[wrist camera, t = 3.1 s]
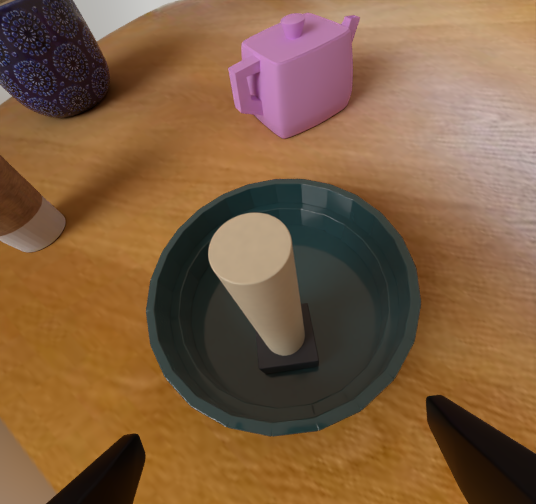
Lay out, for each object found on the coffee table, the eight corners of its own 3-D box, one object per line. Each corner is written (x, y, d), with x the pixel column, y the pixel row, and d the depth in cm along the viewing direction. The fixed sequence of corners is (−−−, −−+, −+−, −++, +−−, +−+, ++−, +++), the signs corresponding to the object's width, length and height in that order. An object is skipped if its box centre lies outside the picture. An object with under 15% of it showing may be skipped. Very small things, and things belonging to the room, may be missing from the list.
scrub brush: (319, 366, 19) (323, 291, 7) (264, 374, 20) (186, 313, 8) (308, 313, 21) (299, 189, 10) (259, 321, 22) (192, 210, 10)
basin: (438, 411, 17) (483, 410, 13) (172, 444, 19) (124, 454, 14) (358, 204, 27) (367, 160, 22) (186, 235, 28) (161, 200, 24)
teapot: (328, 69, 41) (331, -22, 33) (377, 95, 36) (397, -5, 27) (228, 119, 38) (202, 34, 30) (265, 156, 33) (247, 65, 24)
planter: (19, 136, 45) (-94, 30, 33) (55, 86, 54) (-24, -13, 42) (109, 119, 44) (26, 0, 31) (130, 70, 53) (73, -38, 40)
